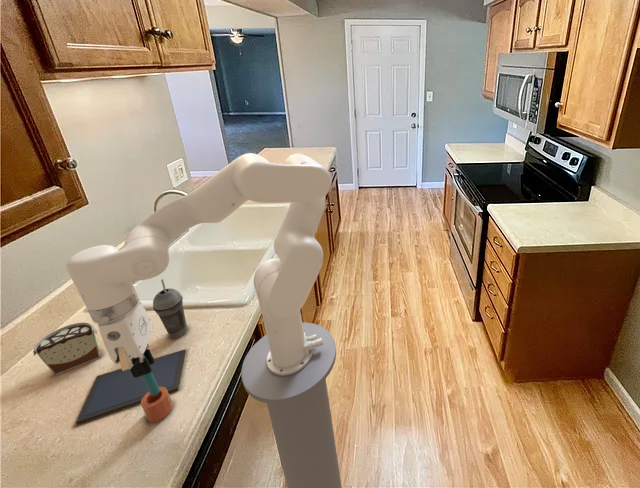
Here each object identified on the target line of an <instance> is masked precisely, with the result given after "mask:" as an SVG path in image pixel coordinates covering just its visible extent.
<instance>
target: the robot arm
mask: <svg viewBox="0 0 640 488" xmlns="http://www.w3.org/2000/svg"><path fill="white" fill-rule="evenodd" d="M332 184H333V180H332V175H331V172H330V171H329V170H328V169H327V168H326V167H325V166H323V165H322V164H320V163H319V162H317V161H316V160H314V159H313V158H312V157H310V156H308V155H306V154H303V153H294V154H291V155H289V156H288V157H286V159H285V161H284V163H273V162H270V161H269V160H268V159H266V158H265V157H263V156H261V155H260V154H257V153H253V152H247V153H244V154H242V155H239V156H238V157H236V158H235V159H234V160H232V161H231V162H230V163H228V164H227V165H225V166H224V167H223V168H222V169H220V170H219V171H218V172H216V173H215V174H214V175H212V176H211V177H210V178H209V179H207V180H206V181H205V182H203V183H201V185H199V186H198V187H197V188H195V189H194V190H192V191H191V192H189V193H187V194H184V195H182V196H181V197H179V198H176V199H175V200H172V201H170V202H168V203H167V204H165V205H163V206H162V207H160V208H158V209H157V210H156V211H154V212H153V213H152V214H150V215H149V216H147V217H146V218H145V219H144V220H142V221H141V222H139V223H138V224H137V225H136V226H134V227H133V228H132V229H131V230H130V232H129V233H128V234H127V235H126V237H125V240H124V243H123V247H122V248H121V249H118V248H116V247H115V246H113V245H110V244H109V245H108V244H100V245H96V246H95V245H94V246H91V247H88V248H85V249H83V250H80V251H79V252H76V253H75V254H73V255H72V256H70V258H69V259H68V260H67V262H66V270H67V273H68V274H69V277H70V279H71V280H72V282H73V284H74V286H75V289H76V290H77V293H78V294H79V296H80V298H81V300H82V302H83V304H84V306H85V308H86V309H87V312H88V314H89V315H90V318H91V319H92V320H91V321H93V323H94V324H97V326H98V330H99V333H100V336H101V339H102V342H103V345H104V347H105V349H106V352H107V355H108V356H109V357H110V359H111V360H112V362H113V363H114V364H116V365H118V364H119V363H120V367H121V368H120V369H122V371H126V370H129V369H130V370H131V373H132V375H133V377H134V378H136V377H139V376H143V375H146V374H149V373H151V371H152V369H151V367H150V365H151V364H153V363H154V359H155V358H154V356H153V354H152V351H151V349H150V348H149V341H150V337H151V334H152V331H153V322H152V320H151V318H150V316H149V314H148V312H147V310H146V309H145V307H144V305H143V303H142V301H141V300H140V298H139V296H138V294H137V291H136V289H135V286H134V284H133V282H134V283H135V282H140V281H146V280H150V279H153V278H156V277H158V276H160V275H161V274H162V273H164V272H165V271H166V269H167V268H168V266H169V262H170V253H169V252H170V250H169V249H170V248H169V245H170V244H171V243H172V242H173V241H174V240H175V239H177V238H178V237H180V236H181V235H182V234H183V233H185V232H186V231H188V230H189V229H191V228H193V227H195V226H198V225H200V224H218V223H221V222H222V221H224V220H225V219H227V218H228V217H229V216H230V215H231V214H233V213H234V212H235V211H236V210H238V209H239V208H240V207H242V205H244V204H245V203H246V202H248V201H251V202H254V203H260V204H261V203H262V204H263V203H264V204H281V203H282V204H284V203H289V206H288V209H287V211H286V214H285V216H284V218H283V220H282V223H281V225H280V227H279V229H278V231H277V233H276V235H275V237H274V240H273V250H274V252H275V254H276V256H277V258H270V259H266V260H264V261H263V262H261V264H259V265H258V266H257V267H256V269H255V272H254V275H253V286H254V290H255V294H256V298H257V300H258V304H259V307H260V312H261V316H262V322H263V325H264V328H265V335H267V339H268V343H269V347H270V351H269V353H268V356H267V360H266V362H267V366H268V369H269V370H270V371H271V372H272V373H273V374H275V375H280V376H285V375H290V374H294V373H296V372H298V371H299V370H301V369H302V368H304V367H305V366H306V365H307V364H308V362H309V361H310V359H311V357H312V353H313V350H312V348H314V347H316V346H317V347H318V346H321V345H323V342H322V338H320V339H317V336H316V334H315V335H312V336H310V337H308V336H307V337H306V336H305V332H304V330H303V324H302V323H303V319H302V313H301V310H302V308H303V306H304V304H305V303H306V301H307V300H308V298H309V295H310V293H311V291H312V289H313V287H314V285H315V283H316V280H317V279H318V276H319V274H320V272H321V269H322V268H323V267H322V266H323V263H324V251H323V247H322V246H321V243H319V241H318V240H317V239H316V232H317V230H318V228H319V226H320V222H321V220H322V217H323V215H324V212H325V208H326V196H327V194H328V193H329V192H330V190H331V188H332ZM315 339H317V340H315ZM311 340H315V341H312V342H311ZM143 354H144V356H145V358H144V356H143Z"/></svg>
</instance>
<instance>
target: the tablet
mask: <svg viewBox="0 0 640 488" xmlns="http://www.w3.org/2000/svg"><path fill="white" fill-rule="evenodd" d="M186 352H187V351H186V349H180V350H177V351H174V352H171V353H169V354H165V355H161V356H159V357H155V358H154V363H153V364H151V365H150V367H151V369H152V373H153V375H154V378H155V380H156V382H157V384H158V386H159V387H165V388H166V389H167V391H168V393H169V394H171V393H173V392H177V391H179V389H180V383H181V377H182V372H183V367H184V363H185V357H186V354H187V353H186ZM148 392H149V390H148V388H147V386H146V384H145V382H144V380H143V378H142V376H139V377H136V378H134V377H133V375H132V373H131V370H130V369H129V370H126V371H122V368H118V369H115V370H112V371H109V372H105V373H103V374H98V375H97V376H96V378H95V379H94V381H93V384H92V386H91V388H90V391H89V393H88V395H87V397H86V399H85V401H84V404H83V406H82V407H81V410H80V412H79V414H78V417H77V419H76V421H75V424H76V425H81V424H84V423H87V422H89V421H91V420H92V421H93V420H95V419H98V418H100V417H104V416H107V415H110V414H112V413H116V412H118V411H121V410H124V409H127V408H130V407H133V406H136V405H139V404H141V400H142V398H143V397H144V396H145V395H146V394H147V393H148Z"/></svg>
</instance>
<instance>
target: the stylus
mask: <svg viewBox="0 0 640 488" xmlns="http://www.w3.org/2000/svg"><path fill="white" fill-rule="evenodd" d="M143 356H144V354H143ZM144 358H145V356H144ZM142 378H143V380H144V382H145V384H146V386H147V388H148V390H149V392H150V394H151V396H155V395H157V394H158V393H159V392H160V388H159V386H158V384H157V382H156V380H155V378H154V375H153V373H152V371H151V373H149V374H146V375H143V376H142Z"/></svg>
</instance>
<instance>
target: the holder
mask: <svg viewBox="0 0 640 488" xmlns="http://www.w3.org/2000/svg"><path fill="white" fill-rule="evenodd" d="M159 388H160V392H159V393H158V394H157V395H155V396H151V394H150V392H148V393H147V394H146V395H145V396H144V397H143V398H142V400H141V403H140V406H141V409H142V411H143V413H144V415H145V417H146V419H147V421H148V422H150V423H157V422H160V421H161V420H164V418H166V417H168V416H169V414H171V411H172V410H173V407H174V404H173V401H172V398H171V396H170V393H168V391H167V389H166V388H165V387H159Z"/></svg>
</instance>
